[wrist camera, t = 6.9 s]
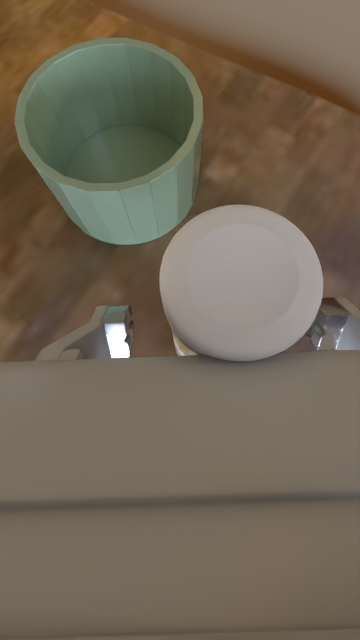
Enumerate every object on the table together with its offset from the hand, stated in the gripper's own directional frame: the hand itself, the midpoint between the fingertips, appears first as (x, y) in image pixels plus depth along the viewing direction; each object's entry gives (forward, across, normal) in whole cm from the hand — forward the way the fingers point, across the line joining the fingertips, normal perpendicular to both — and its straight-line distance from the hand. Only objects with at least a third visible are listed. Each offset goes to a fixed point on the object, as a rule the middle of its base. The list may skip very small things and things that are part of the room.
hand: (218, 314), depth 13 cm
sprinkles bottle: (+6, 0, +6) cm, 8 cm away
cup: (+15, +6, -4) cm, 17 cm away
